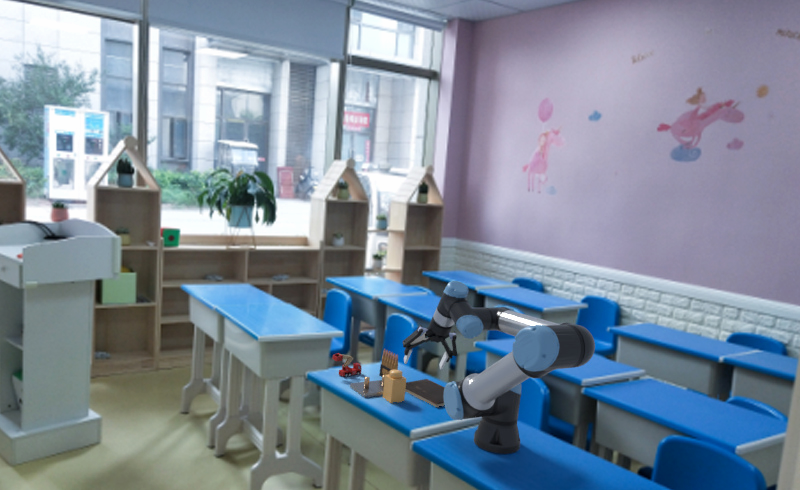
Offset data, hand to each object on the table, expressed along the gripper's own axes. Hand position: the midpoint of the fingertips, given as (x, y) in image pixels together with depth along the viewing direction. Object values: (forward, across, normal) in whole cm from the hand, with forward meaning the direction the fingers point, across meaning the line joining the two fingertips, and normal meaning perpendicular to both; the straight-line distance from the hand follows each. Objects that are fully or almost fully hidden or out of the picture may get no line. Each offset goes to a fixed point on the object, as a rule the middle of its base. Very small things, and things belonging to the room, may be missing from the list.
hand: (422, 364), depth 219 cm
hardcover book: (+24, -13, -9) cm, 29 cm away
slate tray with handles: (+28, +9, -11) cm, 32 cm away
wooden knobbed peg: (+23, +4, -3) cm, 23 cm away
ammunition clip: (+34, +1, -23) cm, 41 cm away
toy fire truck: (+37, +18, -25) cm, 49 cm away
